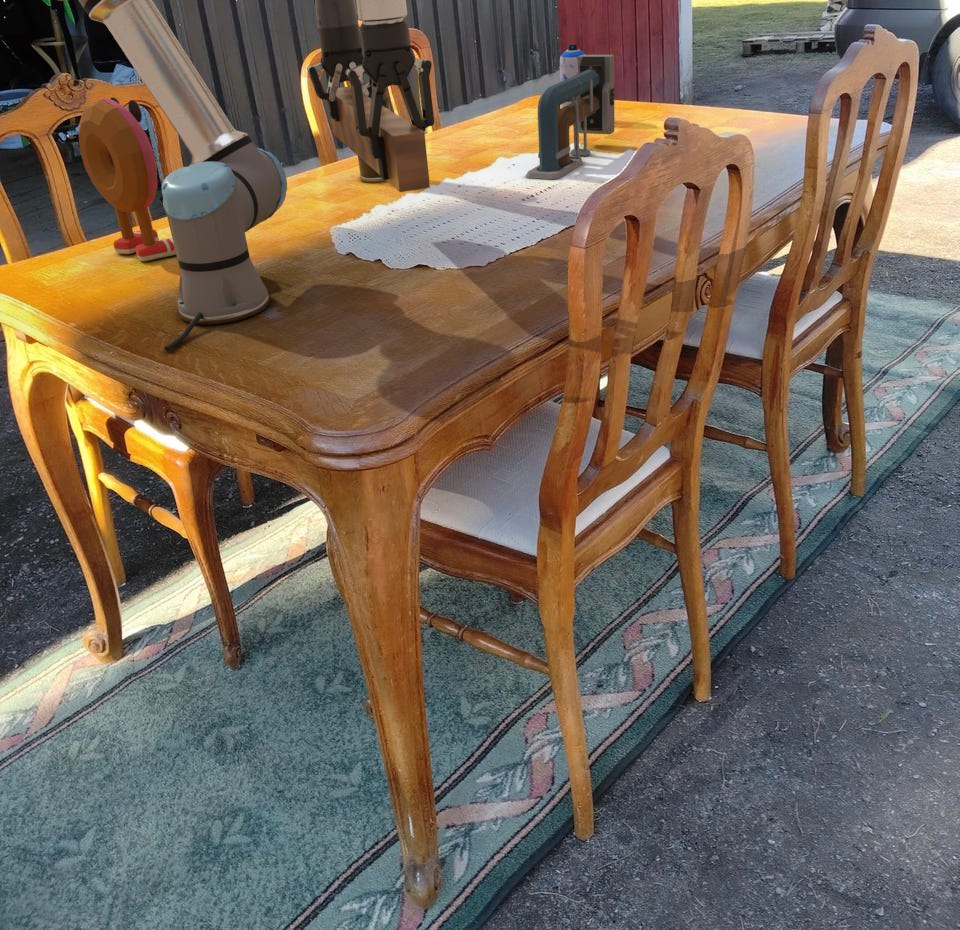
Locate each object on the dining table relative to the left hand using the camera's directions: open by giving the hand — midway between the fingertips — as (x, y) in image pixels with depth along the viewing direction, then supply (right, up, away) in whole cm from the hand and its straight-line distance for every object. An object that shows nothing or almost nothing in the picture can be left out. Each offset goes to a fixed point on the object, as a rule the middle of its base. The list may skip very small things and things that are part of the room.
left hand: (401, 174), depth 159 cm
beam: (-6, +7, +15) cm, 18 cm away
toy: (-55, -4, +39) cm, 67 cm away
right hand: (-12, +19, +27) cm, 35 cm away
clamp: (+35, +27, +78) cm, 90 cm away
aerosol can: (+40, +51, +119) cm, 136 cm away
